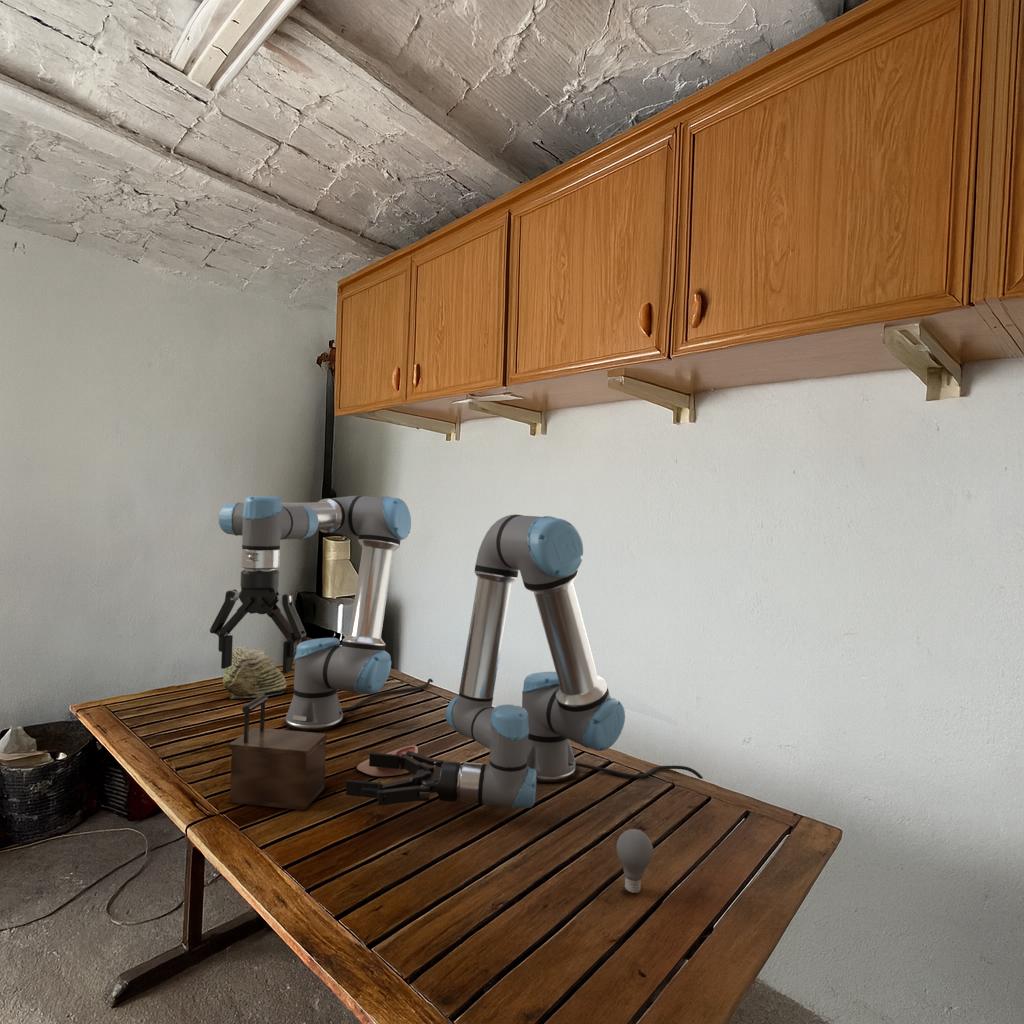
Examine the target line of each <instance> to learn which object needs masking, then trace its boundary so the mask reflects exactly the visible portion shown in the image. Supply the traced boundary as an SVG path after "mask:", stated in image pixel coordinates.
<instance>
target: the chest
mask: <svg viewBox="0 0 1024 1024" xmlns="http://www.w3.org/2000/svg"><path fill="white" fill-rule="evenodd" d="M326 754H327V738H326V739H325V740H324V741H323V742H322V743H321V744H320V745H318V746H317V747H316V748H315V749H314V750H313V751H312V752H311V753H310V754H308V755H307V756H297V755H286V754H275V753H264V752H254V751H243V750H232V749H231V755H230V756H231V759H230V760H231V762H230V785H229V787H230V789H229V803H230V804H240V805H250V806H259V807H269V808H278V809H288V810H298V811H305V810H306V809H307V808H308V807H309V806H310V805H311V804H312V803H314V801H315V800H316V798H318V796H319V795H320V794H321V793H322V792H323V791H324V790H325V786H326V785H325V783H326V781H325V780H326V759H327V758H326V756H327V755H326Z"/></svg>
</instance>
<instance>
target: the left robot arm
mask: <svg viewBox="0 0 1024 1024" xmlns="http://www.w3.org/2000/svg"><path fill="white" fill-rule="evenodd" d="M218 526H219V528H220V530H221V531H222V532H223V533H225V534H228V535H233V536H236V537H237V536H241V537H242V541H241V543H242V544H241V565H240V566H241V568H242V570H241V571H240V591H238V590H237V589H230V590H227V591H225V595H224V596H225V597H224V602H223V603H222V605H221V608H220V610H219V611H218V613H217V615H216V617H215V619H214V621H213V623H212V624H211V627H210V629H209V633H210V634H215V635H216V636H218V637H217V638H218V646H217V647H218V648H217V649H218V652H219V653H221V658H220V659H221V660H220V662H221V664H220V669H222V670H225V668H227V667H229V666H232V653H233V642H234V641H233V640H234V639H233V638H234V637H233V635H232V634H231V632H232V631H233V630H234V629H235V628H236V626H237V625H238V624H239V623H240V622H241V621H242V619H244V617H245V616H246V615H248V613H249V614H250V615H251V614H258V615H265V614H266V615H267V617H269V618H271V620H272V621H273V623H274V624H275V626H276V627H277V628H278V630H279V631H280V633H282V635H283V636H284V638H285V639H286V641H283V653H282V674H283V675H284V674H286V675H287V674H288V673H290V672H292V671H293V660H294V672H293V695H292V696H293V697H292V699H291V702H290V704H289V708H288V711H287V713H286V715H285V726H286V728H287V729H288V730H291V731H301V732H312V733H319V732H325V731H329V730H332V729H335V728H337V727H339V726H340V725H342V723H343V722H344V713H343V712H345V711H351V710H353V709H356V708H357V707H359V706H361V705H362V704H364V703H366V702H368V701H370V700H372V699H375V698H377V697H381V696H385V695H391V694H397V693H404V692H411V691H417V690H423V689H425V688H427V687H428V686H429V685H430V683H434V680H433V679H432V678H428V680H427V682H426V683H425V684H423V685H420V686H419V685H418V686H413V687H406V688H400V689H395V690H387V691H382V692H379V691H380V690H381V689H382V688H383V687H384V685H385V684H386V682H387V680H388V678H389V676H390V673H391V668H392V659H391V654H390V653H389V652H387V651H386V650H385V649H386V643H385V642H384V640H383V639H382V631H383V627H384V625H383V624H384V619H385V612H386V606H387V599H388V593H389V592H388V591H389V585H390V578H391V571H392V566H393V565H392V564H393V558H394V557H393V556H394V552H395V551H396V550H397V549H399V548H400V547H401V541H403V540H406V539H407V538H408V537H409V534H410V533H411V529H412V516H411V512H410V509H409V507H408V505H407V503H406V502H405V501H404V500H403V499H401V498H400V497H399V498H398V497H392V496H375V495H374V496H371V495H368V496H367V495H348V496H340V497H332V498H331V497H330V498H321V499H320V500H318V501H316V502H315V501H314V502H312V501H311V502H282V499H281V498H280V497H279V496H268V495H267V496H265V495H263V496H262V495H259V496H258V495H249V496H246V497H245V499H244V501H243V502H239V501H238V502H229V503H226V504H225V505H223V506H222V507H221V508H220V510H219V513H218ZM317 531H320V532H321V533H325V534H339V535H340V534H341V535H347V536H352V537H358V539H357V543H359V545H360V546H361V548H362V549H361V556H360V563H359V568H358V575H357V582H356V587H355V595H354V601H353V608H352V614H351V621H350V626H349V633H348V635H346V636H345V637H344V638H343V639H342V641H340V639H339V638H337V637H321V638H313V639H307V640H304V641H302V642H299V643H298V640H301V639H304V638H305V637H306V636H307V632H306V630H305V627H304V625H303V623H302V620H301V618H300V616H299V613H298V611H297V609H296V606H295V604H294V595H293V593H292V592H288V593H285V594H284V593H283V594H280V593H279V586H280V571H279V570H278V569H279V568H280V563H281V561H280V560H281V541H282V540H303V539H307V538H311V537H312V536H314V535H315V534H316V532H317ZM238 600H240V602H241V605H240V606H239V607H238V608H237V609H236V612H235V613H234V614H233V615H232V616H231V617H230V618H229V616H230V614H231V612H232V610H233V609H234V607H235V605H236V602H237V601H238ZM278 602H279V603H280V604H281V605H282V609H283V611H284V613H285V615H286V617H285V616H284V615H283V613H282V612H281V608H280V607H279V606H278V604H277V603H278ZM228 618H229V620H228ZM227 620H228V621H227ZM226 621H227V622H226ZM340 644H341V645H340ZM338 691H344V692H351V693H356V694H358V695H362V694H363V695H370V696H368V697H366V698H364V699H362V700H360V701H359V702H356V703H355V704H353V705H351V706H346V707H342V706H341V702H340V699H339V695H338Z"/></svg>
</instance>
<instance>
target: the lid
mask: <svg viewBox="0 0 1024 1024" xmlns="http://www.w3.org/2000/svg"><path fill="white" fill-rule="evenodd" d="M268 700H269V696H266V695H262V696H260V697H256V698H255V699H253V700H251V701H250V702H248V703H247V704H245V705H243V706H242V709H241V710H242V712H243V714H244V719H243V720H244V723H243V734H242V735H240V736H239V737H237V738H236V739H234V740H233V741H231V742H230V743H228V750H231V751H232V750H243V751H254V752H264V753H275V754H286V755H297V756H307V755H308V754H310V753H311V752H312V751H313V750H314V749H315V748H316V747H317V746H318V745H320V744H321V743H322V742H323V741H324V740H325V739H326V740H327V733H324V732H323V733H322V732H301V731H295V730H290V729H277V728H265V722H266V721H265V720H266V717H265V716H266V703H267V702H268ZM259 707H260V716H259V717H260V719H259V727H252V728H251V729H250V713H251V712H252V711H254V710H255V709H257V708H259Z"/></svg>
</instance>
